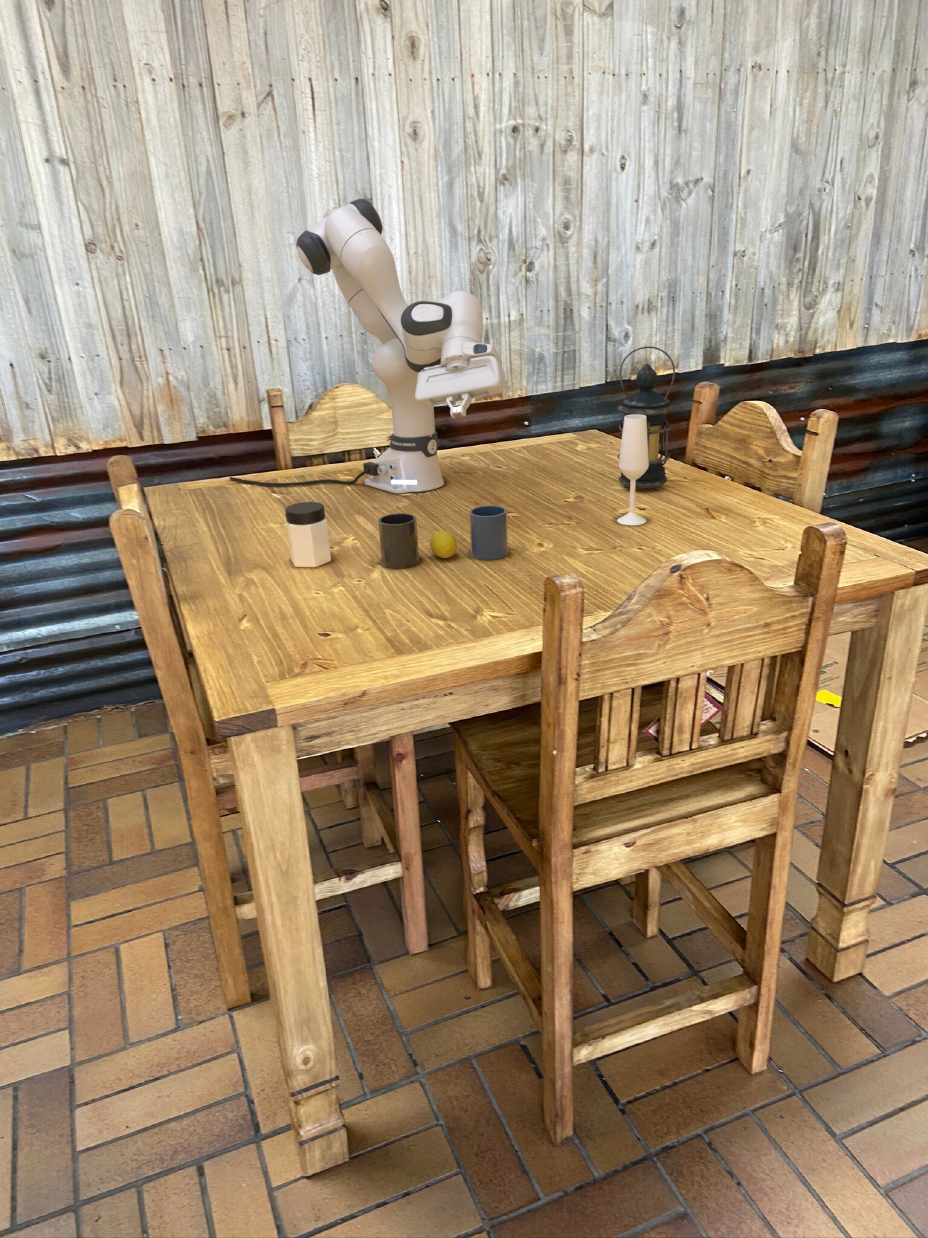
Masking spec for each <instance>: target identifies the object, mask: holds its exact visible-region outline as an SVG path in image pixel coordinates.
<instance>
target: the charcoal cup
mask: <svg viewBox="0 0 928 1238" xmlns="http://www.w3.org/2000/svg"><path fill="white" fill-rule="evenodd" d="M377 524H378V535H379V544H380V556H381V557H380V559H381V564H382V566H383V567H384V568H385V567H386V568H389V569H406V568H411V567H413V566H416V565H418V563H419V562H420V552H419V539H418V537H419V536H418V525H417V516H415V515H414V514H411V513H406V512H402V513H401V512H397V513H389V514H385V515H383V516H380V517H379V518H378V519H377Z"/></svg>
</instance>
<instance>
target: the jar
mask: <svg viewBox="0 0 928 1238" xmlns="http://www.w3.org/2000/svg"><path fill="white" fill-rule="evenodd" d="M325 511H326V510H325V505H324V504H323V503H321V502H317V501H302V502H296V503H293V504H290V505H288V506H287V507H285V509H284V512H285V513H284V514H285V515H284V516H285V524H286V531H287V538H288V545H289V552H290V560H291V561H292V563H293V566H294V567H295V568H318V567H320V566H322V565H325V564H327V563H330V562H332V556H331V547H330V546H331V545H330V538H329V528H328V520H327V518H326V512H325Z"/></svg>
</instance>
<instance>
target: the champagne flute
mask: <svg viewBox="0 0 928 1238" xmlns="http://www.w3.org/2000/svg"><path fill="white" fill-rule="evenodd" d="M623 418H624V425H623V433H622V432H621V441H620V442H621V443H620V449H619V454H620V457H619V459H618V468H619V470H620V473H621V472H622V473H623V474H624V475H625V476H626V477H627V478H628V479H630V488H629V509H628V510H629V512H627V513H626V514H624V515H622V516H621V517H619V518H617V519H616V522H617V523H619V524H621V525H625V526H639V525H643V524H645V523H647V519H646V518H645V517H642V516H641V515H640V514H637V513H636V512H635V510H636V508H635V507H636V489H635V485H636V480H637V479H638V478H640V477H641V476H642V475H643V474H644V473H645V472H646V470H647V469H648V467H649V460H648V441H647V422H646V416H645V415H639V414H633V415H626V416H625V417H623Z"/></svg>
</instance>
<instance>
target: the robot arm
mask: <svg viewBox="0 0 928 1238" xmlns="http://www.w3.org/2000/svg"><path fill="white" fill-rule="evenodd" d="M383 230H384V227H383V223H382V218H381V216H380V213H379V212H378V210H377V208H375V206H374V205H373V204H372V203H371V201H369V200H368V199H365V198H358V199H354V200H352V201H349V204H346V205H344V206H339V207H336V208H335V209H334V210H332V211H331V212H330V213H328V214H327V215H326V216H325V217H324V218H322V219H320V220H318V222H316V223H314V225H313V226H311V227H310V228H309V229H306V230H304V231H303V232H302V233H301V234H300V235H299V236H298V237H297V239H296V244H295V246H296V251H297V255H298V258H299V260H300V262H301V263H302V265H303V266H304V267H305V268H306V269H307V270H308V271H310V273H311V274H313V275H316V276H322V275H325V274H328V273H330V272H331V271H332V274H333V276H334V279H335V281H336V283H337V286H338V289H339V290H340V292H341V294H342V295H343V297H344V300H345V301H346V302H347V304H348V306H349V307H350V309H351V310H352V312H353V313H354V315H355V316H356V318H357V319H358V321H359V322H360V324H361V326H362V327H363V329H364V330H365V332H367V333H368V334H369V335H372V336H374V337H375V338H376V339H378V340H379V341H380V342H381V343H382V345H381V346H379V348H377V349H376V350H375V352H374V353H373V357H372V368H373V372H374V374H375V376H376V378H377V379H379V380H380V381H381V382H382V384H383V385H384V389H385V391H386V393H387V397H388V400H389V404H390V410H391V419H392V429H393V432H392V434H391V435H388V436H385V438H386V440H385V441H386V442H389V441H390V442H389V446H388V448H386V450H384V452H382V454H380V455H379V456H378V457H377V458H376V459H375V460H374V461H373V462H372V461H368V462H363V463H362V465H363V471H362V472H360V473H359V474H358V475H356V476H355V478H354V479H353V480H339V479H332V478H331V479H330V478H329V479H328V478H327V479H316V480H306V481H296V482H295V481H294V482H265V481H257V480H250V479H244V480H242V479H243V478H238V477H234V476H230V477H229V480H230V481H235V482H239V483H246V484H251V485H259V486H266V487H267V486H268V487H290V486H293V487H294V486H305V485H306V486H307V485H313V484H323V483H334V484H342V485H353V484H356V483H357V482H358V481H359V479H360V478H361V477H363V476H364V475H370V476H369V477H367V478H366V479H365V480H364V485H365V486H369V487H372V488H375V489H379V490H382V491H386V492H389V493H392V494H404V493H418V492H427V491H431V490H436V489H439V488H441V487H443V486H444V485H445V480H444V477H443V475H442V471H441V470H442V469H441V467H440V466H441V465H440V462H439V461H440V460H439V456H438V443H439V442H438V432H437V431H436V422H435V421H436V420H435V408H434V407H435V406H441V405H445V404H447V405H448V407H449V408H450V411H449V413H450V417H451V418H452V419H457V418H463V417H466V416H467V410H468V409H469V407H470V405H471V404H472V400H473V399H477V398H482V397H487V396H494V395H500V394H502V393H503V392H504V391H505V389H506V374H505V370H504V368H503V367H502V365H503V360H502V358H501V355H500V354H499V352H498V351H497V349H496V348H495V347H494V346H493V345H492V344H490V343H482V342H481V338H482V337H483V327H484V326H483V325H484V321H483V319H484V318H483V309H482V305H481V302H480V300H479V299H478V298H477V297H476V296H475V295H474V294H472V293H471V292H468V291H466V290H454V291H451V292H449V293H448V294H447V295H446V296H444V297H442V298H439V299H436V300H431V301H429V300H419V301H414V302H412V303H411V304H409V305H408V303H407V301H406V300H405V298H404V295H403V292H402V289H401V284H400V282H399V277H398V276H399V275H398V272H397V271H398V270H397V267H396V266H397V265H396V261H395V258H394V255H393V252H392V251H391V248H390V247H389V245H388V243H387V241H386V239H385V238H384V237H383ZM461 401H462V402H461ZM457 402H461V403H460V405H459V406H456V404H457ZM233 477H234V478H233Z"/></svg>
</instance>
